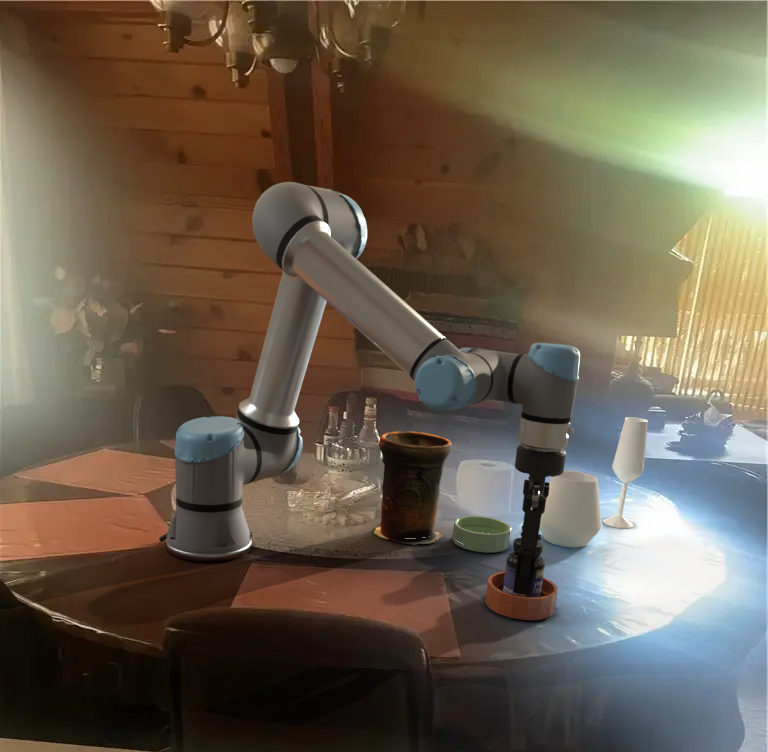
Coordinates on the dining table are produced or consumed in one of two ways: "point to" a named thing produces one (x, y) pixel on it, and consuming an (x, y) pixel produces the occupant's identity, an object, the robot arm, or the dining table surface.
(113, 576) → the dining table surface
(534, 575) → the pill bottle
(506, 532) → the back bowl
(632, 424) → the champagne flute
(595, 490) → the cup
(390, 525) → the vessel
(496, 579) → the front bowl
